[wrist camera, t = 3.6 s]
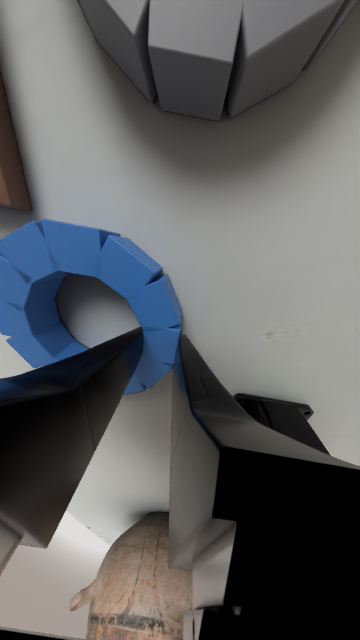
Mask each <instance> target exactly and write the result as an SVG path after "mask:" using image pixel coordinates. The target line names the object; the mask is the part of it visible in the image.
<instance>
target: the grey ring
mask: <svg viewBox="0 0 360 640" xmlns="http://www.w3.org/2000/svg"><path fill="white" fill-rule="evenodd" d="M77 2H78V4H79V6H80V8H81V10H82V13H83V15H84V17H85V19H86V21H87V23H88V24H89V25H91V28H92V30H93V32H94V34H95V37H96V39H97V41H98V43H99V44H100V45H101V46H102V47H103V49H104V50H105V51H106V52H107V53H108V54H109V55H110V57H111V58H112V59H113V60H114V61H115V62H116V63H117V65H118V66H119V67H120V68H121V69H122V70H123V72H124V73H125V74H126V75H127V76H128V77H129V78H130V80H131V81H132V82H133V83H134V84H135V85H136V86H137V88H138V89H139V90H140V91H141V92H142V93H143V94H144V96H145V97H146V98H147V99H148V100H149V101H150V102H151V103H152V102H153V100H154V97H155V95H156V93H158V98H159V103H160V108H161V110H165V111H170V112H175V113H180V114H185V115H190V116H195V117H200V118H205V119H210V120H215V121H220V118H221V113H222V109H223V104H224V100H225V96H226V98H227V105H228V111H229V116H230V118H231V117H233V116H235V115H237V114H238V113H240V112H242V111H244V110H245V109H247V108H249V107H251V106H252V105H254V104H256V103H258V102H259V101H261V100H263V99H265V98H266V97H268V96H270V95H272V94H273V93H275V92H277V91H279V90H280V89H282V88H284V87H286V86H287V85H289V84H291V83H293V82H294V81H295V80H296V78H297V77H298V75H299V74H300V72H301V70H302V69H303V67H304V66H305V68H306V69H308V68H309V67H310V66H311V65H312V63H313V62H314V61H315V59H316V58H317V56H318V55H319V54H320V52H321V51H322V50H323V48H324V47H325V45H326V44H327V43H328V41H329V40H330V39H331V37H332V36H333V35H334V33H335V32H336V30H337V29H338V28H339V26H340V25H341V24H342V22H343V21H344V19H345V18H346V17H347V15H348V14H349V13H350V11H351V10H352V8H353V7H354V6H355V4H356V3H357V2H358V0H77Z"/></svg>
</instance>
